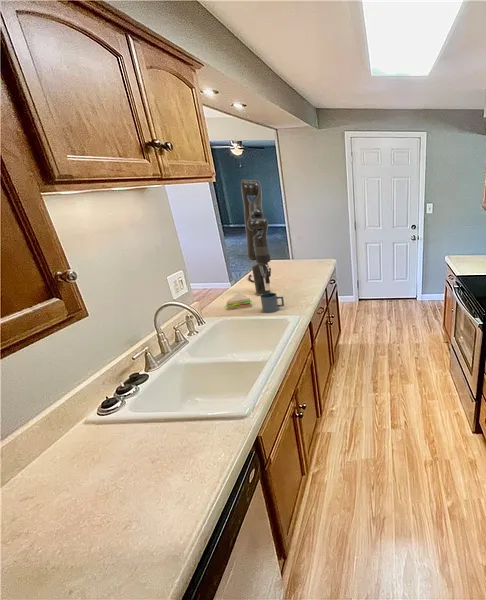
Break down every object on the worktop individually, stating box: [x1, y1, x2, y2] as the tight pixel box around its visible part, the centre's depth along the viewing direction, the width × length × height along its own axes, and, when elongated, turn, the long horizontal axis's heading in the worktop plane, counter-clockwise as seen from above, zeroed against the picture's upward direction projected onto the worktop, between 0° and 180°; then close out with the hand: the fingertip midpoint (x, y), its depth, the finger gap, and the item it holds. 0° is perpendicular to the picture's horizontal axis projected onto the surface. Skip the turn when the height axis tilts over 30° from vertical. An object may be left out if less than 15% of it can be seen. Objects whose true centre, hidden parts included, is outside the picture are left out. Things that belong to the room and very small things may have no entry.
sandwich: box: [224, 291, 253, 310], centre depth 208 cm, size 15×20×5 cm
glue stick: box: [263, 274, 271, 291], centre depth 193 cm, size 3×3×9 cm
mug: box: [259, 292, 285, 314], centre depth 198 cm, size 13×9×10 cm
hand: (266, 282), depth 193 cm, fingers closed on glue stick, 3 cm apart
